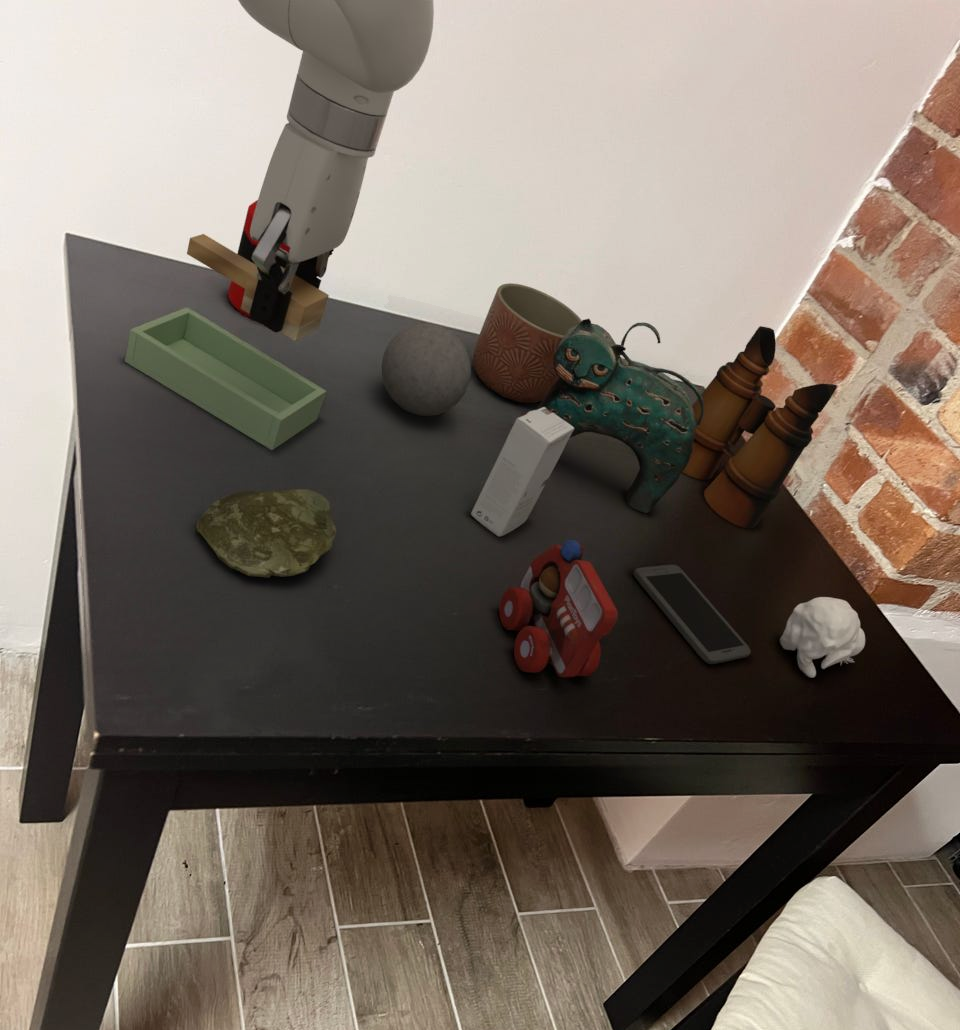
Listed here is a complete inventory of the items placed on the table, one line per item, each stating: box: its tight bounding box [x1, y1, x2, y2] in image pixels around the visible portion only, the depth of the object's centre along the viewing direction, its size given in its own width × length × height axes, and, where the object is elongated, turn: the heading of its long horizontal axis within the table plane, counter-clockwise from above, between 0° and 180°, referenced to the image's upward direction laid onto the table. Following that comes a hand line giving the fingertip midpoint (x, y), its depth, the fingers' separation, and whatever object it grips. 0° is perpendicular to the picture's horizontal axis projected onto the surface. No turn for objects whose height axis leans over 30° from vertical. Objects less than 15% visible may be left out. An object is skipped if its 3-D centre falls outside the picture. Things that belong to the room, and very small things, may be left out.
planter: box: [472, 282, 583, 404], centre depth 117 cm, size 12×12×11 cm
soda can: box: [227, 199, 290, 318], centre depth 104 cm, size 8×8×12 cm
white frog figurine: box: [779, 596, 866, 679], centre depth 100 cm, size 6×8×12 cm
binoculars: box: [682, 325, 838, 529], centre depth 118 cm, size 18×8×20 cm, turn 31°
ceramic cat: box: [537, 318, 704, 514], centre depth 104 cm, size 20×6×20 cm, turn 81°
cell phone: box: [632, 564, 752, 665], centre depth 98 cm, size 7×14×1 cm, turn 32°
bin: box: [124, 306, 327, 451], centre depth 91 cm, size 17×9×4 cm, turn 68°
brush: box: [186, 233, 330, 342], centre depth 85 cm, size 13×5×4 cm, turn 68°
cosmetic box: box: [470, 407, 574, 538], centre depth 93 cm, size 6×4×12 cm
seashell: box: [195, 488, 337, 579], centre depth 77 cm, size 10×7×10 cm
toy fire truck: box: [498, 539, 619, 678], centre depth 81 cm, size 7×12×10 cm, turn 16°
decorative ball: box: [381, 322, 471, 417], centre depth 102 cm, size 10×10×10 cm
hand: (280, 315), depth 86 cm, fingers closed on brush, 4 cm apart
